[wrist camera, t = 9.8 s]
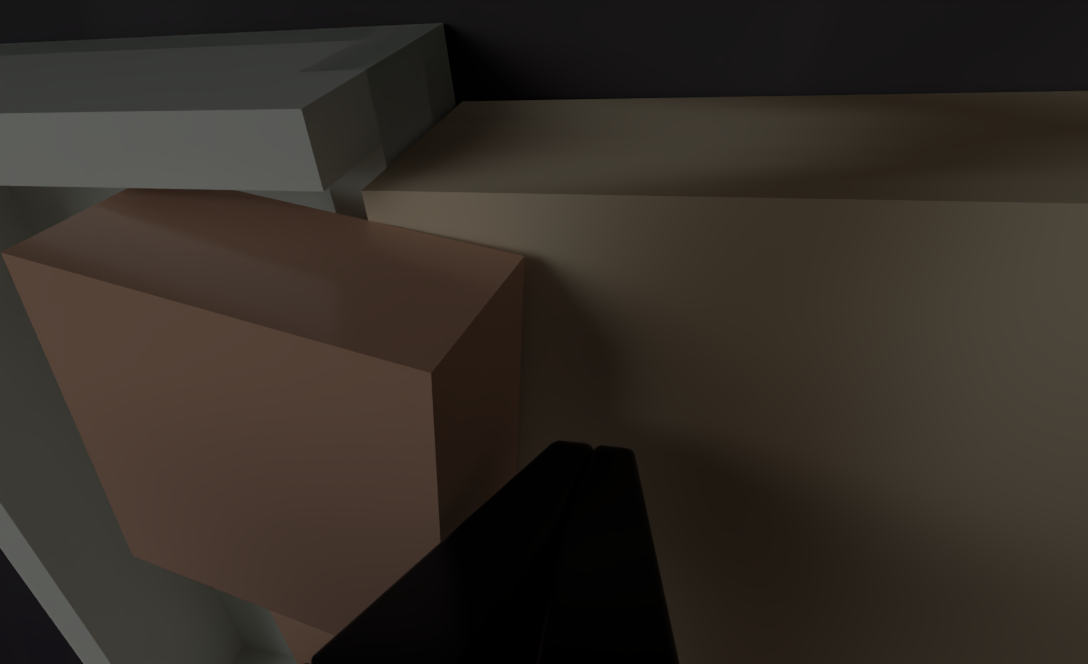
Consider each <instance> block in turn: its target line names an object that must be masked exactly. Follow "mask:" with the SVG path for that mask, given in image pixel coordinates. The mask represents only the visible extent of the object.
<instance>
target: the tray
mask: <svg viewBox="0 0 1088 664" xmlns="http://www.w3.org/2000/svg"><path fill="white" fill-rule="evenodd" d="M455 107H456V102H455V96H454V89H453V83H452V77H451V70H450V64H449V58H448V51H447V45H446V39H445V32H444V26H443V23H433V24H411V25H390V26H369V27H348V28H326V29H305V30H284V31H263V32H241V33H220V34H199V35H178V36H157V37H135V38H114V39H93V40H72V41H50V42H29V43H8V44H0V548H1V550H2V551H3V552H4V554H5V555H6V556H7V558H8V559H9V561H10V562H11V563H12V565H13V566H14V568H15V569H16V570H17V572H18V573H19V575H20V576H21V577H22V579H23V580H24V582H25V583H26V584H27V586H28V587H29V588H30V590H31V591H32V593H33V594H34V595H35V597H36V598H37V600H38V601H39V602H40V604H41V605H42V607H43V608H44V609H45V611H46V612H47V614H48V615H49V616H50V618H51V619H52V620H53V622H54V623H55V625H56V626H57V627H58V629H59V630H60V632H61V633H62V634H63V636H64V637H65V639H66V640H67V641H68V643H69V644H70V645H71V647H72V648H73V650H74V651H75V652H76V654H77V655H78V657H79V658H80V659H81V661H82V662H83V664H298V663H297V661H296V660H295V658H294V656H293V654H292V652H291V650H290V648H289V646H288V644H287V643H286V641H285V639H284V637H283V635H282V633H281V631H280V629H279V627H278V626H277V624H276V622H275V620H274V618H273V616H272V614H271V612H270V610H268V609H266V608H263V607H261V606H258V605H255V604H253V603H250V602H248V601H245V600H243V599H240V598H238V597H235V596H233V595H230V594H228V593H225V592H223V591H220V590H217V589H215V588H212V587H210V586H207V585H205V584H202V583H200V582H197V581H195V580H192V579H190V578H187V577H185V576H182V575H179V574H177V573H174V572H172V571H169V570H167V569H164V568H162V567H159V566H157V565H154V564H152V563H149V562H146V561H144V560H141V559H139V558H136V557H134V556H133V555H132V553H131V551H130V548H129V546H128V544H127V542H126V539H125V537H124V535H123V532H122V530H121V528H120V525H119V523H118V521H117V519H116V516H115V514H114V512H113V509H112V507H111V505H110V502H109V500H108V498H107V496H106V493H105V491H104V489H103V486H102V484H101V482H100V479H99V477H98V475H97V473H96V470H95V468H94V466H93V463H92V461H91V459H90V456H89V454H88V452H87V450H86V447H85V445H84V443H83V440H82V438H81V436H80V433H79V431H78V429H77V427H76V424H75V422H74V420H73V417H72V415H71V413H70V410H69V408H68V406H67V404H66V401H65V399H64V397H63V394H62V392H61V390H60V387H59V385H58V383H57V381H56V378H55V376H54V374H53V371H52V369H51V367H50V364H49V362H48V360H47V358H46V355H45V353H44V351H43V348H42V346H41V344H40V341H39V339H38V337H37V335H36V332H35V330H34V328H33V325H32V323H31V321H30V318H29V316H28V314H27V312H26V309H25V307H24V305H23V302H22V300H21V298H20V295H19V293H18V291H17V289H16V286H15V284H14V282H13V279H12V277H11V275H10V272H9V270H8V268H7V266H6V263H5V261H4V259H3V256H2V254H1V252H3V251H5V250H7V249H9V248H11V247H13V246H15V245H17V244H19V243H21V242H23V241H25V240H27V239H28V238H30V237H32V236H34V235H36V234H38V233H40V232H42V231H44V230H46V229H48V228H50V227H52V226H54V225H56V224H58V223H60V222H62V221H64V220H66V219H68V218H70V217H72V216H74V215H76V214H78V213H80V212H82V211H84V210H86V209H88V208H90V207H92V206H94V205H96V204H98V203H99V202H101V201H103V200H105V199H107V198H109V197H111V196H113V195H115V194H117V193H119V192H121V191H123V190H125V189H127V188H156V189H209V190H237V191H241V192H246V193H250V194H254V195H259V196H263V197H268V198H272V199H276V200H281V201H285V202H290V203H294V204H298V205H303V206H307V207H311V208H316V209H320V210H325V211H329V212H333V213H338V214H342V215H347V216H351V217H355V218H360V219H364V220H368V217H367V213H366V209H365V205H364V200H363V196H362V192H361V190H362V189H363V188H365V187H366V186H367V185H368V184H369V183H370V182H371V181H373V180H374V179H375V178H376V177H377V176H378V175H379V174H380V173H382V172H383V171H384V170H385V169H386V168H387V167H388V166H390V165H391V164H392V163H393V162H394V161H395V160H396V159H398V158H399V157H400V156H401V155H402V154H403V153H404V152H405V151H407V150H408V149H409V148H410V147H411V146H412V145H413V144H415V143H416V142H417V141H418V140H419V139H420V138H421V137H423V136H424V135H425V134H426V133H427V132H428V131H429V130H430V129H432V128H433V127H434V126H435V125H436V124H437V123H438V122H440V121H441V120H442V119H443V118H444V117H445V116H446V115H447V114H449V113H450V112H451V111H452V110H453V109H454V108H455Z"/></svg>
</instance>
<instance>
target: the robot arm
mask: <svg viewBox="0 0 1088 664" xmlns="http://www.w3.org/2000/svg"><path fill="white" fill-rule="evenodd" d="M304 664H309V663H304ZM311 664H680V663H679V659H678V654H677V649H676V645H675V640H674V635H673V631H672V626H671V621H670V616H669V612H668V607H667V602H666V598H665V593H664V588H663V584H662V579H661V574H660V570H659V565H658V560H657V555H656V551H655V546H654V541H653V537H652V532H651V527H650V523H649V518H648V513H647V508H646V504H645V499H644V494H643V490H642V485H641V480H640V476H639V471H638V466H637V462H636V457H635V453H634V452H633V450H631V449H630V448H623V447H615V446H606V445H599V446H597V447H596V448H595V449H594V450H593V447H592V446H590V445H589V444H587V443H580V442H571V441H563V440H558V441H555V442H553V443H551V444H550V445H549V446H548V447H547V448H546V449H544V450H543V451H542V452H541V453H540V454H539V455H538V456H537V457H535V458H534V459H533V460H532V461H531V462H530V463H529V464H528V465H526V466H525V467H524V468H523V469H522V470H521V471H520V472H519V473H517V474H516V475H515V476H514V477H513V478H512V479H511V480H510V481H508V482H507V483H506V484H505V485H504V486H503V487H502V488H501V489H500V490H498V491H497V492H496V493H495V494H494V495H493V496H492V497H491V498H489V499H488V500H487V501H486V502H485V503H484V504H483V505H482V506H480V507H479V508H478V509H477V510H476V511H475V512H474V513H473V514H471V515H470V516H469V517H468V518H467V519H466V520H465V521H464V522H462V523H461V524H460V525H459V526H458V527H457V528H456V529H455V530H453V531H452V532H451V533H450V534H449V535H448V536H447V537H446V538H444V539H443V540H442V541H441V542H440V543H439V544H438V545H437V546H435V547H434V548H433V549H432V550H431V551H430V552H429V553H428V554H427V555H425V556H424V557H423V558H422V559H421V560H420V561H419V562H418V563H416V564H415V565H414V566H413V567H412V568H411V569H410V570H409V571H407V572H406V573H405V574H404V575H403V576H402V577H401V578H400V579H398V580H397V581H396V582H395V583H394V584H393V585H392V586H391V587H389V588H388V589H387V590H386V591H385V592H384V593H383V594H382V595H380V596H379V597H378V598H377V599H376V600H375V601H374V602H373V603H371V604H370V605H369V606H368V607H367V608H366V609H365V610H364V611H362V612H361V613H360V614H359V615H358V616H357V617H356V618H355V619H354V620H352V621H351V622H350V623H349V624H348V625H347V626H346V627H345V628H343V629H342V630H341V631H340V632H339V633H338V634H337V635H336V636H334V637H333V638H332V639H331V640H330V641H329V642H328V643H327V644H325V645H324V646H323V647H322V648H321V649H320V650H319V651H318V652H316V653H315V654H314V655H313V656H312V658H311Z"/></svg>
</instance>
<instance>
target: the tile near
mask: <svg viewBox="0 0 1088 664" xmlns="http://www.w3.org/2000/svg"><path fill="white" fill-rule="evenodd" d="M1 254H2V256H3V259H4V261H5V263H6V266H7V268H8V270H9V272H10V275H11V277H12V279H13V282H14V284H15V286H16V289H17V291H18V293H19V295H20V298H21V300H22V302H23V305H24V307H25V309H26V312H27V314H28V316H29V318H30V321H31V323H32V325H33V328H34V330H35V332H36V335H37V337H38V339H39V341H40V344H41V346H42V348H43V351H44V353H45V355H46V358H47V360H48V362H49V364H50V367H51V369H52V371H53V374H54V376H55V378H56V381H57V383H58V385H59V387H60V390H61V392H62V394H63V397H64V399H65V401H66V404H67V406H68V408H69V410H70V413H71V415H72V417H73V420H74V422H75V424H76V427H77V429H78V431H79V433H80V436H81V438H82V440H83V443H84V445H85V447H86V450H87V452H88V454H89V456H90V459H91V461H92V463H93V466H94V468H95V470H96V473H97V475H98V477H99V479H100V482H101V484H102V486H103V489H104V491H105V493H106V496H107V498H108V500H109V502H110V505H111V507H112V509H113V512H114V514H115V516H116V519H117V521H118V523H119V525H120V528H121V530H122V532H123V535H124V537H125V539H126V542H127V544H128V546H129V548H130V551H131V553H132V555H133V556H134V557H136V558H139V559H141V560H144V561H146V562H149V563H152V564H154V565H157V566H159V567H162V568H164V569H167V570H169V571H172V572H174V573H177V574H179V575H182V576H185V577H187V578H190V579H192V580H195V581H197V582H200V583H202V584H205V585H207V586H210V587H212V588H215V589H217V590H220V591H223V592H225V593H228V594H230V595H233V596H235V597H238V598H240V599H243V600H245V601H248V602H250V603H253V604H255V605H258V606H261V607H263V608H266V609H268V610H271V611H273V612H276V613H278V614H281V615H283V616H286V617H288V618H291V619H293V620H296V621H299V622H301V623H304V624H306V625H309V626H311V627H314V628H316V629H319V630H321V631H324V632H326V633H329V634H331V635H334V636H336V635H337V634H338V633H339V632H340V631H341V630H342V629H343V628H345V627H346V626H347V625H348V624H349V623H350V622H351V621H352V620H354V619H355V618H356V617H357V616H358V615H359V614H360V613H361V612H362V611H364V610H365V609H366V608H367V607H368V606H369V605H370V604H371V603H373V602H374V601H375V600H376V599H377V598H378V597H379V596H380V595H382V594H383V593H384V592H385V591H386V590H387V589H388V588H389V587H391V586H392V585H393V584H394V583H395V582H396V581H397V580H398V579H400V578H401V577H402V576H403V575H404V574H405V573H406V572H407V571H409V570H410V569H411V568H412V567H413V566H414V565H415V564H416V563H418V562H419V561H420V560H421V559H422V558H423V557H424V556H425V555H427V554H428V553H429V552H430V551H431V550H432V549H433V548H434V547H435V546H437V545H438V544H439V543H440V542H441V541H442V540H443V539H444V538H446V537H447V536H448V535H449V534H450V533H451V532H452V531H453V530H455V529H456V528H457V527H458V526H459V525H460V524H461V523H462V522H464V521H465V520H466V519H467V518H468V517H469V516H470V515H471V514H473V513H474V512H475V511H476V510H477V509H478V508H479V507H480V506H482V505H483V504H484V503H485V502H486V501H487V500H488V499H489V498H491V497H492V496H493V495H494V494H495V493H496V492H497V491H498V490H500V489H501V488H502V487H503V486H504V485H505V484H506V483H507V482H508V481H510V480H511V479H512V478H513V477H514V476H515V475H516V474H517V459H518V430H519V400H520V371H521V341H522V312H523V282H524V256H522V255H518V254H513V253H509V252H504V251H500V250H496V249H491V248H487V247H482V246H478V245H474V244H469V243H465V242H461V241H456V240H452V239H447V238H443V237H439V236H434V235H430V234H425V233H421V232H417V231H412V230H408V229H404V228H399V227H395V226H390V225H386V224H382V223H377V222H373V221H368V220H364V219H360V218H355V217H351V216H347V215H342V214H338V213H333V212H329V211H325V210H320V209H316V208H311V207H307V206H303V205H298V204H294V203H290V202H285V201H281V200H276V199H272V198H268V197H263V196H259V195H254V194H250V193H246V192H241V191H237V190H209V189H156V188H127V189H125V190H123V191H121V192H119V193H117V194H115V195H113V196H111V197H109V198H107V199H105V200H103V201H101V202H99V203H98V204H96V205H94V206H92V207H90V208H88V209H86V210H84V211H82V212H80V213H78V214H76V215H74V216H72V217H70V218H68V219H66V220H64V221H62V222H60V223H58V224H56V225H54V226H52V227H50V228H48V229H46V230H44V231H42V232H40V233H38V234H36V235H34V236H32V237H30V238H28V239H27V240H25V241H23V242H21V243H19V244H17V245H15V246H13V247H11V248H9V249H7V250H5V251H3V252H1Z"/></svg>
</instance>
